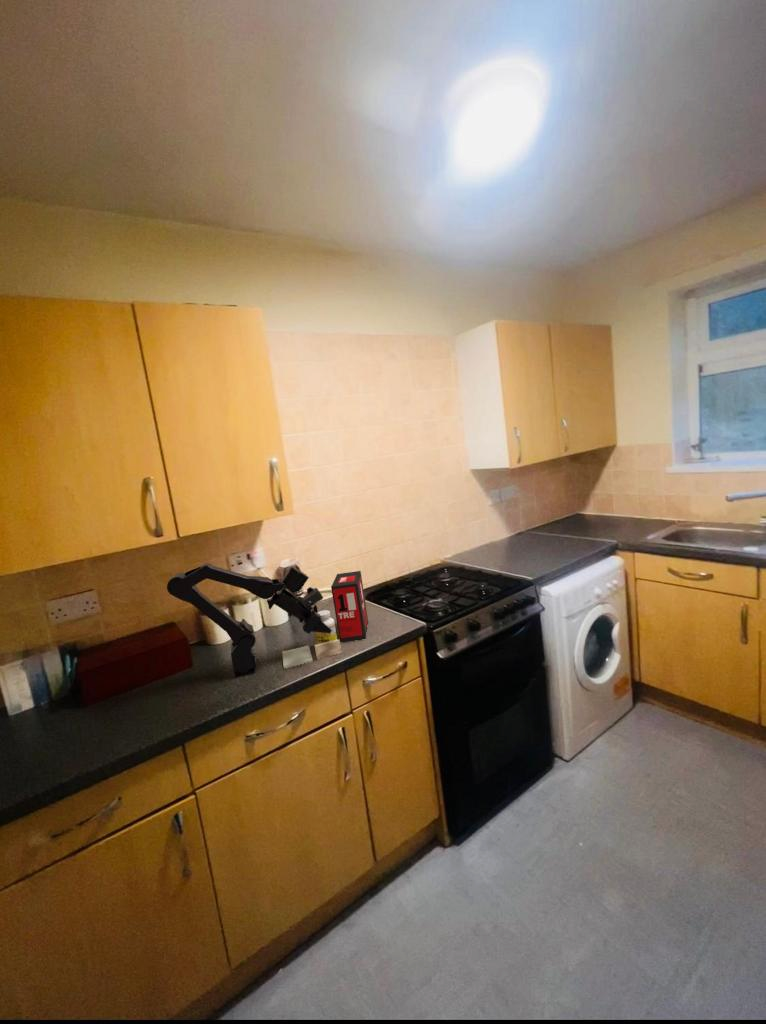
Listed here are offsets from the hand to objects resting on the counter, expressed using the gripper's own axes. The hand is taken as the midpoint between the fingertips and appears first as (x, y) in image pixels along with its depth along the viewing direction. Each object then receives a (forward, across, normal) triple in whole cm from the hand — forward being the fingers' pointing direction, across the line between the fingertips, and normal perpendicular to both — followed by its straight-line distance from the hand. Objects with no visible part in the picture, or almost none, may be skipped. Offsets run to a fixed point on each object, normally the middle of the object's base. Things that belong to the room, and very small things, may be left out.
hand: (329, 628), depth 147 cm
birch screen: (+4, -5, +6) cm, 9 cm away
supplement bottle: (+4, 0, +6) cm, 7 cm away
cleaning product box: (+12, +10, -2) cm, 16 cm away
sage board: (-3, 0, +14) cm, 14 cm away
